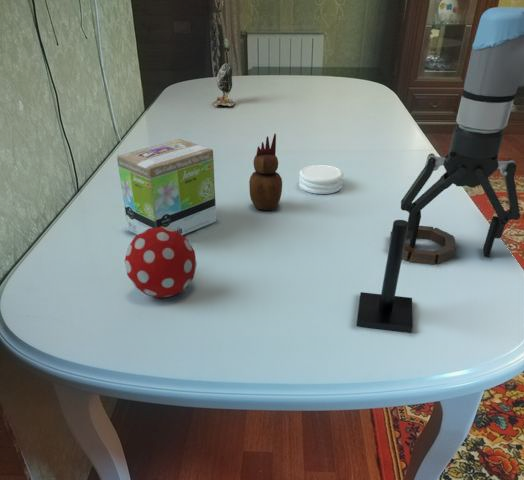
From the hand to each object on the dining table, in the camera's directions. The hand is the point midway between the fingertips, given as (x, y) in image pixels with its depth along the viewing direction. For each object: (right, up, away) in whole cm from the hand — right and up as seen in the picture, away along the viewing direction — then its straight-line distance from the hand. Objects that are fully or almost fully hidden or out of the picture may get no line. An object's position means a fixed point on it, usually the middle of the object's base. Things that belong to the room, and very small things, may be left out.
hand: (448, 249), depth 93 cm
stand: (-16, -13, -16) cm, 25 cm away
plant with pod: (-47, +67, +83) cm, 116 cm away
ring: (-5, +1, +1) cm, 5 cm away
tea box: (-52, +6, +8) cm, 53 cm away
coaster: (-21, +19, +24) cm, 37 cm away
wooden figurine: (-34, +12, +15) cm, 39 cm away
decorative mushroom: (-50, -7, -8) cm, 51 cm away
